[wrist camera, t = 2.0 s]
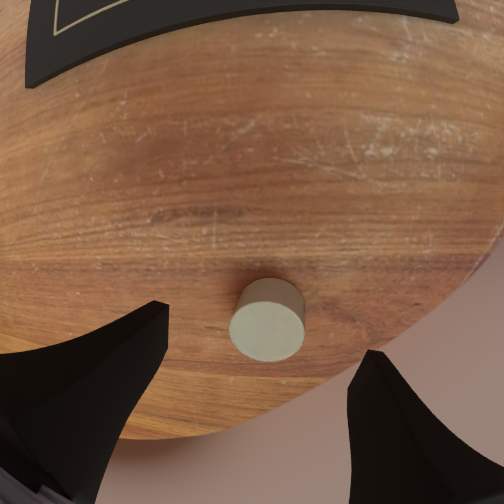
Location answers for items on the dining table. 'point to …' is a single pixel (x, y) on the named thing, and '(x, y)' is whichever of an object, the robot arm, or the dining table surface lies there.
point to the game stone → (268, 320)
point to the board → (163, 23)
